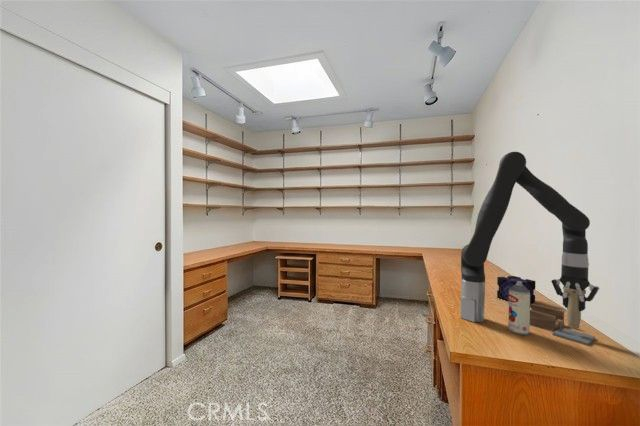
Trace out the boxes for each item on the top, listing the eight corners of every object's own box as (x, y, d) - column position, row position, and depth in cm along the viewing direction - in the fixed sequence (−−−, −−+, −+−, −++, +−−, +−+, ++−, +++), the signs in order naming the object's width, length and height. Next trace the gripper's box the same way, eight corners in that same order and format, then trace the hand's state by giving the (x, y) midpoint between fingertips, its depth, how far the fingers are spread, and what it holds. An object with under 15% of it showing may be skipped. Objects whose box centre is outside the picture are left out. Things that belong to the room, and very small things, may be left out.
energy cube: (497, 298, 150) (497, 277, 150) (512, 296, 153) (513, 275, 153) (518, 305, 138) (519, 282, 138) (535, 303, 142) (535, 281, 142)
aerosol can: (504, 327, 111) (505, 279, 111) (522, 328, 110) (522, 279, 110) (515, 334, 104) (516, 283, 104) (533, 335, 104) (534, 284, 104)
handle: (585, 331, 100) (586, 291, 99) (562, 326, 104) (563, 288, 104) (584, 327, 103) (585, 289, 103) (562, 323, 107) (562, 285, 107)
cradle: (554, 331, 107) (554, 317, 107) (522, 322, 116) (522, 308, 116) (564, 325, 114) (564, 311, 114) (532, 316, 123) (532, 303, 123)
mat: (588, 345, 96) (588, 343, 96) (552, 334, 105) (552, 332, 105) (595, 338, 102) (595, 336, 102) (560, 328, 110) (560, 327, 110)
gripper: (548, 262, 107) (547, 305, 107) (598, 269, 95) (597, 317, 95) (554, 260, 111) (553, 302, 111) (603, 266, 100) (602, 313, 100)
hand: (573, 308), depth 103 cm, fingers closed on handle, 3 cm apart
